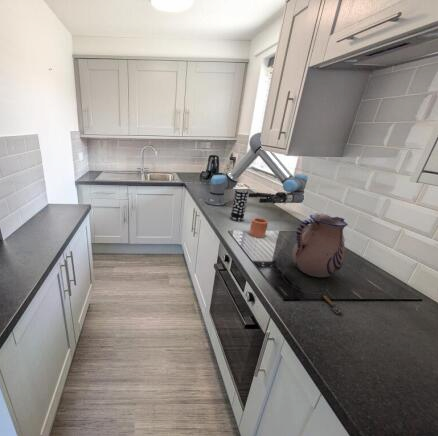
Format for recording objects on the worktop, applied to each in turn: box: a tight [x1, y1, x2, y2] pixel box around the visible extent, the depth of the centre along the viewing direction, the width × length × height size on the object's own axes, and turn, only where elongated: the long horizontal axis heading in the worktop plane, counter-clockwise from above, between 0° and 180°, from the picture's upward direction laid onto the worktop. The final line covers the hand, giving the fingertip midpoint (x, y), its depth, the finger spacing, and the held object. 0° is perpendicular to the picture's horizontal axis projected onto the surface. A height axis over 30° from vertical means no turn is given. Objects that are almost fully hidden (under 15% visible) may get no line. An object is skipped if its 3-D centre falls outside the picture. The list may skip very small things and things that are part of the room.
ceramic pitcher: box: [291, 212, 348, 278], centre depth 95 cm, size 18×21×25 cm
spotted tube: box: [229, 189, 249, 222], centre depth 156 cm, size 8×8×20 cm
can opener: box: [322, 294, 342, 315], centre depth 80 cm, size 9×2×1 cm, turn 170°
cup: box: [249, 217, 269, 239], centre depth 135 cm, size 8×8×9 cm
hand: (254, 197), depth 156 cm, fingers open, 13 cm apart
